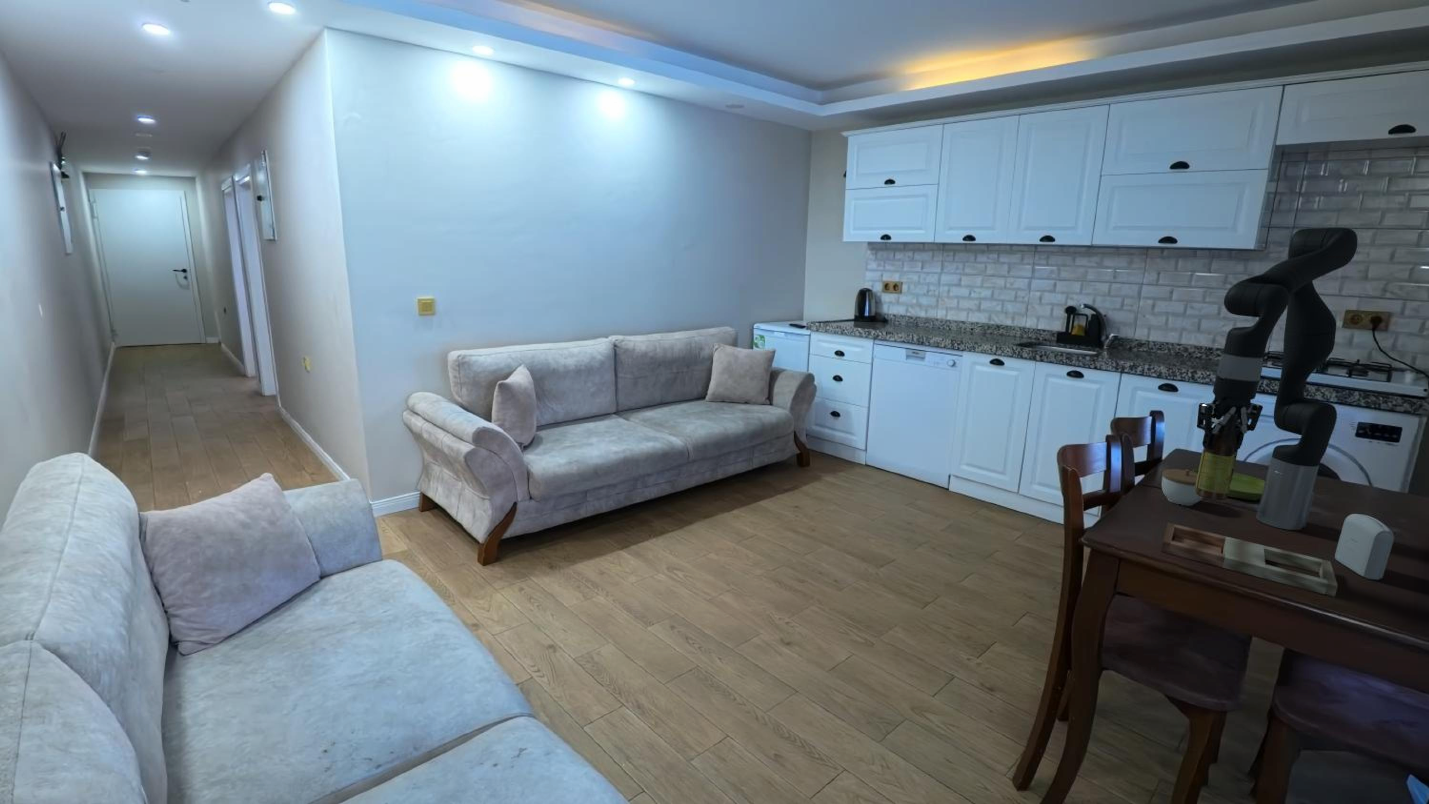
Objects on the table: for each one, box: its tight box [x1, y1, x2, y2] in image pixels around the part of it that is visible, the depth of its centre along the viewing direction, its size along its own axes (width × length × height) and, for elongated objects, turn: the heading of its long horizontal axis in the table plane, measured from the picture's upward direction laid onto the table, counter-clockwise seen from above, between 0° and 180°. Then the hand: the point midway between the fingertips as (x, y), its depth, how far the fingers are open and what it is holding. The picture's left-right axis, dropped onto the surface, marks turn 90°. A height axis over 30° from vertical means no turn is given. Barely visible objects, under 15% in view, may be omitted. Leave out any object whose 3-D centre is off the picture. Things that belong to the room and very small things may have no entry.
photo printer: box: [1334, 513, 1395, 581], centre depth 145 cm, size 10×4×12 cm, turn 168°
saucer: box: [1190, 468, 1266, 501], centre depth 193 cm, size 21×21×3 cm
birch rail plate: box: [1160, 522, 1339, 598], centre depth 148 cm, size 30×14×2 cm, turn 52°
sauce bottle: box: [1195, 414, 1239, 501], centre depth 148 cm, size 6×6×20 cm
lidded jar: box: [1161, 468, 1204, 507], centre depth 182 cm, size 11×11×9 cm
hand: (1220, 448), depth 147 cm, fingers closed on sauce bottle, 6 cm apart
